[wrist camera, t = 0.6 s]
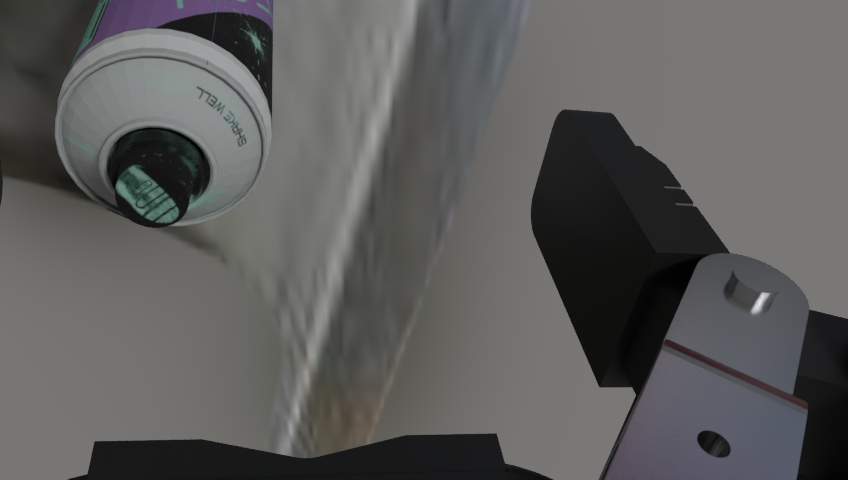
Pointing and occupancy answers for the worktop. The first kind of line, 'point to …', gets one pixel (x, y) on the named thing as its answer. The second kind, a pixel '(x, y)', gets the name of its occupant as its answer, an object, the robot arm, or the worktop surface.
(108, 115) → the spray can
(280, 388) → the worktop surface
